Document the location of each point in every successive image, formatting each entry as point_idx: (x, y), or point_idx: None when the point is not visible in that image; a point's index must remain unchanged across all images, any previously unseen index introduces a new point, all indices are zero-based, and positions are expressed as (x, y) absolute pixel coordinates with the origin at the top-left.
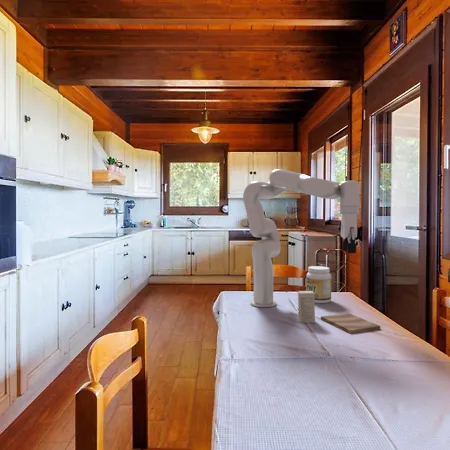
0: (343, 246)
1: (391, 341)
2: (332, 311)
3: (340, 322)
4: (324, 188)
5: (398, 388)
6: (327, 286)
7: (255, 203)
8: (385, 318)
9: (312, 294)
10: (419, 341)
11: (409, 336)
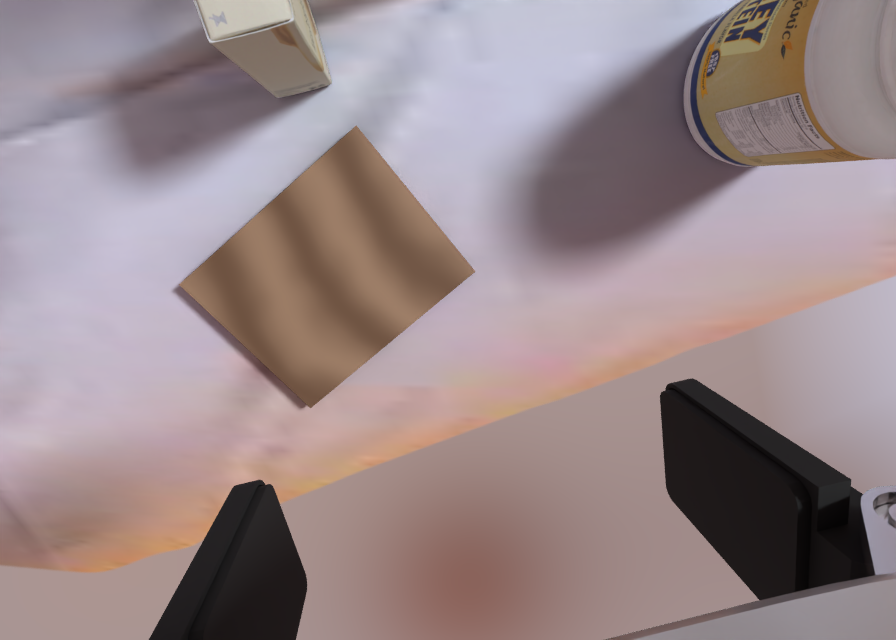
0: (710, 422)
1: (169, 434)
2: (531, 184)
3: (287, 236)
4: None
5: None
6: (775, 135)
7: None
8: (482, 425)
9: (206, 30)
10: None
11: None
